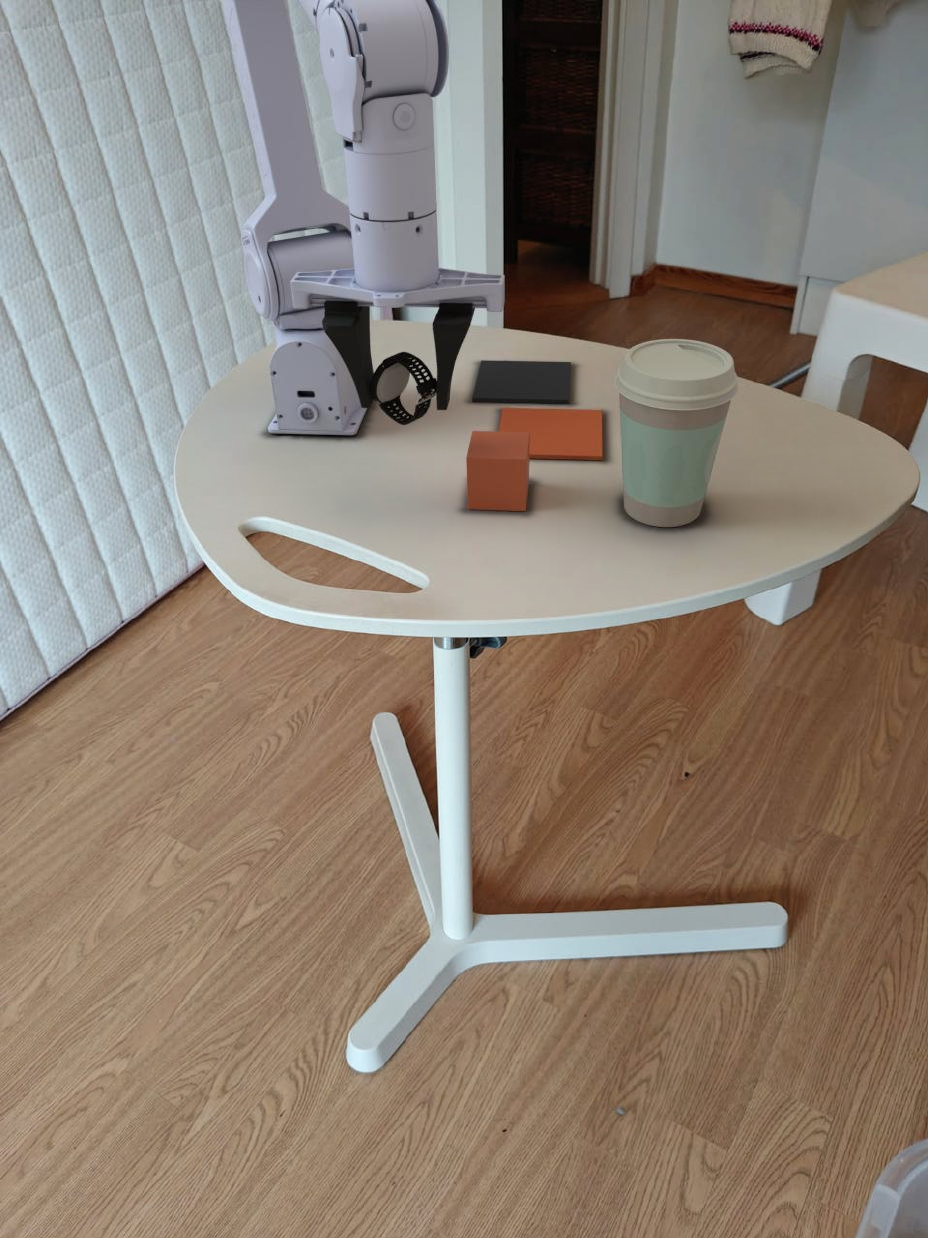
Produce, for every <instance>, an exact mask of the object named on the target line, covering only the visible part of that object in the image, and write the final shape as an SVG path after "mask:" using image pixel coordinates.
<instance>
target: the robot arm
mask: <svg viewBox="0 0 928 1238" xmlns="http://www.w3.org/2000/svg"><path fill="white" fill-rule="evenodd" d="M221 2H222V6H223V11H224V15H225V19H226V24H227V28H228V33H229V38H230V42H231V48H232V51H233V57H234V61H235V65H236V70H237V75H238V79H239V83H240V88H241V92H242V97H243V102H244V106H245V110H246V114H247V119H248V123H249V130H250V132H251V137H252V143H253V147H254V151H255V155H256V156H255V157H256V160H257V164H258V169H259V174H260V178H261V179H260V180H261V183H262V187H263V193H264V199H263V200H262V201H261V202H260V204H259V205H258V207H256V209H255V210H254V211H253V212H252V213H251V214H250V216H249V217H248V218H247V220H246V221H245V222H244V223H243V226H242V229H241V233H240V242H241V247H242V254H243V269H244V276H245V281H246V285H247V286H246V287H247V290H248V293H249V297H250V299H251V303H252V305H253V307H254V309H255V310H256V311H255V312H256V313H258V315H260V317H262V318H263V319H264V320H266V321H267V322H271V321H272V326H273V332H274V333H273V334H274V340H275V348H274V350H273V353H272V355H271V357H270V363H269V375H270V382H271V390H272V395H273V402H274V410H275V414H274V416H273V418H272V420H271V421H270V423H269V425H268V426H267V430H268V433H270V434H286V435H287V434H288V435H322V436H324V435H325V436H327V435H328V436H354V435H356V434H357V433H358V431H359V428H360V427H361V424H362V421H363V419H364V417H365V415H366V412H367V410H368V409H372V408H371V407H372V406H373V404H374V401H375V400H374V399H373V397H372V395H371V390H370V383H371V380H372V377H373V374H374V372H375V371H374V365H373V358H372V350H371V348H372V347H371V346H372V345H371V307H375V308H387V309H388V308H389V309H390V308H392V309H394V308H395V309H397V308H398V309H399V308H436V309H437V308H438V309H437V312H436V313H435V315H434V319H433V321H432V334H433V341H434V348H435V349H434V351H435V361H436V362H435V363H436V380H437V389H436V395H435V400H436V410H437V411H448V408H449V405H450V400H451V389H452V388H451V387H452V381H453V375H454V370H455V366H456V363H457V359H458V356H459V353H460V350H461V348H462V345H463V344H464V341H465V340H466V337H467V334H468V332H469V329H470V327H471V325H472V321H473V317H474V314H475V310H476V309H486V311H487V312H489V313H502V312H503V310H504V307H505V302H506V301H505V299H506V297H505V294H506V293H505V291H506V290H505V280H506V279H505V274H497V273H496V274H495V273H494V274H491V273H480V272H473V271H465V270H458V269H452V268H451V269H450V268H444V267H440V265H439V261H440V260H439V238H438V237H439V236H438V213H437V212H438V211H437V182H436V180H437V179H436V155H435V154H436V153H435V152H436V151H435V129H434V128H435V127H434V126H435V125H434V103H433V98H436V97H438V96H439V95H440V94H441V93H442V91H443V90H444V88H445V85H446V81H447V78H448V73H449V65H450V46H449V45H450V43H449V37H448V36H449V35H448V30H447V25H446V19H445V16H444V14H443V10H442V9H441V6H440V4H439V2H438V0H298V2H299V4H300V5H301V8H302V9H303V11H304V13H305V14H306V16H307V18H308V19H309V21H310V23H311V25H312V26H313V28H314V30H315V32H316V34H317V35H318V37H319V47H318V50H319V58H320V65H321V70H322V74H323V78H324V82H325V86H326V88H327V91H328V94H329V99H330V104H331V110H332V111H331V113H332V123H333V124H334V129H335V132H336V134H337V135H339V136H341V137H342V144H343V157H344V167H345V168H344V169H345V180H346V189H347V190H346V191H347V201H348V204H346V203H345V202H343V201H341V200H340V199H338V198H337V197H335V196H333V194H330V193H329V192H327V191H326V190H325V189H324V187H323V182H322V178H321V173H320V168H319V167H320V166H319V163H318V158H317V153H316V147H315V142H314V139H313V133H312V128H311V123H310V118H309V113H308V109H307V108H308V107H307V103H306V99H305V93H304V89H303V83H302V78H301V74H300V68H299V64H298V60H297V53H296V49H295V45H294V39H293V33H292V28H291V25H290V24H291V23H290V19H289V14H288V9H287V4H286V0H221ZM316 229H317V230H325V231H326V232H321V233H315V234H309V235H308V234H307V235H303V236H297V237H290V238H285V239H278V240H271V241H270V239H272V237H273V236H278V235H285V234H290V233H297V232H303V231H311V230H316Z"/></svg>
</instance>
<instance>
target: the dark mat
mask: <svg viewBox="0 0 928 1238" xmlns="http://www.w3.org/2000/svg"><path fill="white" fill-rule="evenodd" d="M571 369H572V361H543V360H542V361H540V360H539V361H537V360H536V361H535V360H533V361H532V360H485V359H484V360H483V359H482V360H480V364H479V368H478V372H477V377H476V379H475V386H474V390H473V393H472V396H471V397H472V398H471V400H472V402H474V403H475V402H476V403H478V402H479V403H480V402H481V403H522V404H523V403H524V404H567V405H568V404H570V392H571V391H570V390H571V371H572V370H571Z"/></svg>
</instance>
